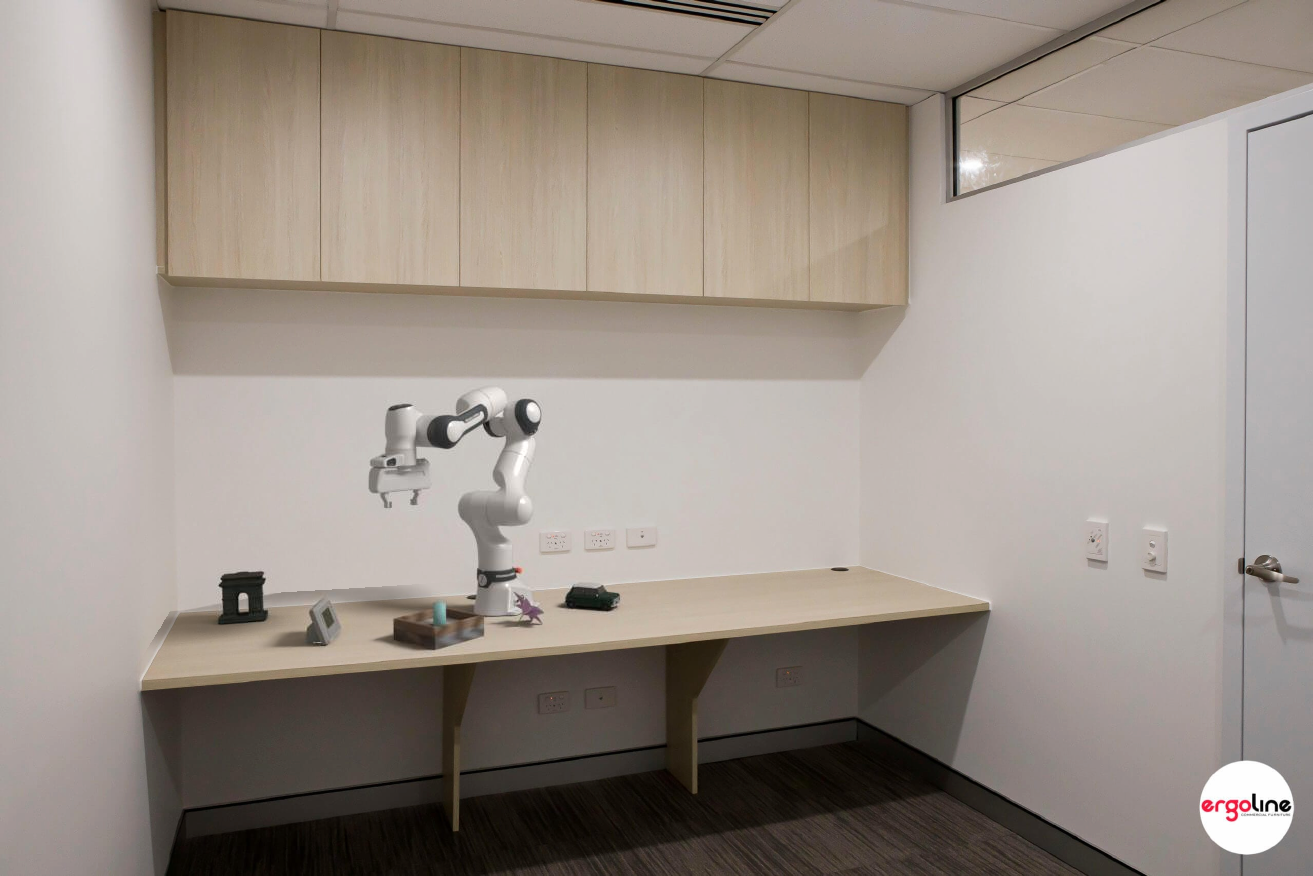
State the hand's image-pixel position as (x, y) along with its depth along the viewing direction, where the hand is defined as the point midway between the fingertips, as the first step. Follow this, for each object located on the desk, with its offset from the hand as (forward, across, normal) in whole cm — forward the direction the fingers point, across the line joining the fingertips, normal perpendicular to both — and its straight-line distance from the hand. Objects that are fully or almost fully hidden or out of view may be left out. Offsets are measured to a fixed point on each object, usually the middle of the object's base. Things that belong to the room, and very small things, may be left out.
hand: (401, 506), depth 255 cm
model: (+37, +20, -51) cm, 66 cm away
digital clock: (+37, +18, -11) cm, 43 cm away
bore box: (+37, -2, +14) cm, 40 cm away
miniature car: (+38, -58, +25) cm, 73 cm away
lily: (+37, -28, +24) cm, 53 cm away
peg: (+37, -2, +14) cm, 40 cm away
